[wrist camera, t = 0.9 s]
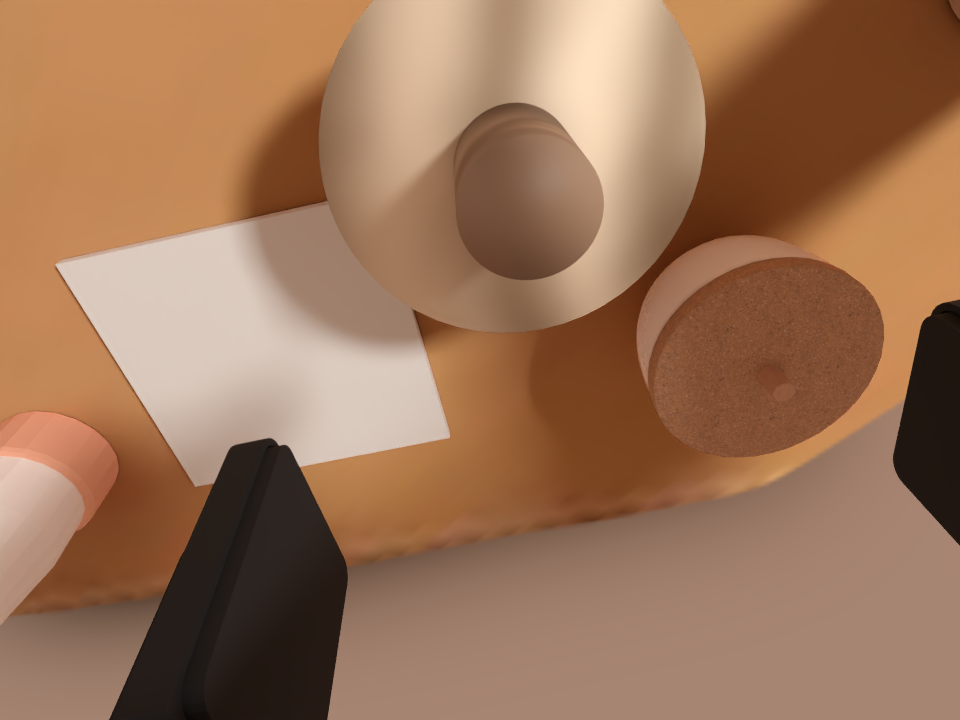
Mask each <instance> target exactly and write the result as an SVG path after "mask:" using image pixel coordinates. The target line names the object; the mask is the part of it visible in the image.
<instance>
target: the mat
mask: <svg viewBox="0 0 960 720" xmlns="http://www.w3.org/2000/svg"><path fill="white" fill-rule="evenodd" d="M55 265H56V267H57V268H58V270H59V272H60V273H61V275H62V276H63V278H64V279H65V281H66V283H67V284H68V286H69V287H70V289H71V291H72V292H73V294H74V295H75V297H76V299H77V300H78V302H79V303H80V305H81V306H82V308H83V310H84V311H85V313H86V314H87V316H88V318H89V319H90V321H91V322H92V324H93V325H94V327H95V329H96V330H97V332H98V333H99V335H100V337H101V338H102V340H103V341H104V343H105V345H106V346H107V348H108V349H109V351H110V352H111V354H112V356H113V357H114V359H115V360H116V362H117V364H118V365H119V367H120V368H121V370H122V371H123V373H124V375H125V376H126V378H127V379H128V381H129V383H130V384H131V386H132V387H133V389H134V391H135V392H136V394H137V395H138V397H139V398H140V400H141V402H142V403H143V405H144V406H145V408H146V410H147V411H148V413H149V414H150V416H151V417H152V419H153V421H154V422H155V424H156V425H157V427H158V429H159V430H160V432H161V433H162V435H163V437H164V438H165V440H166V441H167V443H168V444H169V446H170V448H171V449H172V451H173V452H174V454H175V456H176V457H177V459H178V460H179V462H180V464H181V465H182V467H183V468H184V470H185V471H186V473H187V475H188V476H189V478H190V479H191V481H192V483H193V484H194V486H195V487H197V486H202V485H208V484H213V483H214V482H215V480H216V478H217V476H218V473H219V471H220V469H221V466H222V464H223V462H224V460H225V457H226V455H227V453H228V451H229V449H230V448H231V447H232V446H234V445H236V444H241V443H246V442H251V441H256V440H261V439H266V438H272V439H274V440H275V441H276V442H277V444H278V445H279V446H280V445H287V446H288V447H289V448H290V449H291V451H292V453H293V455H294V457H295V459H296V461H297V463H298V465H299V467H301V466H306V465H311V464H317V463H322V462H327V461H332V460H337V459H343V458H348V457H353V456H358V455H363V454H369V453H374V452H379V451H384V450H389V449H395V448H400V447H405V446H410V445H415V444H421V443H426V442H431V441H436V440H441V439H446V438H450V431H449V427H448V424H447V421H446V417H445V414H444V411H443V407H442V404H441V401H440V397H439V394H438V390H437V387H436V384H435V380H434V377H433V374H432V370H431V367H430V364H429V360H428V357H427V354H426V350H425V347H424V344H423V340H422V337H421V334H420V330H419V327H418V324H417V320H416V317H415V314H414V310H413V309H412V308H411V307H409V306H408V305H406V304H404V303H403V302H401V301H400V300H398V299H397V298H395V297H394V296H393V295H392V294H391V293H389V292H388V291H387V290H386V289H384V288H383V287H382V286H381V285H380V284H379V283H378V282H377V281H376V280H375V279H374V278H373V277H372V276H371V275H370V274H369V273H368V272H367V271H366V270H365V269H364V268H363V266H362V265H361V264H360V262H359V261H358V260H357V258H356V257H355V256H354V254H353V253H352V252H351V250H350V249H349V247H348V245H347V243H346V242H345V240H344V238H343V236H342V235H341V233H340V231H339V229H338V227H337V225H336V222H335V220H334V217H333V215H332V213H331V210H330V208H329V204H328V201H325V202H321V203H316V204H312V205H307V206H303V207H298V208H294V209H289V210H285V211H280V212H276V213H271V214H267V215H262V216H258V217H253V218H249V219H244V220H240V221H235V222H231V223H226V224H222V225H217V226H213V227H208V228H204V229H199V230H194V231H190V232H185V233H181V234H176V235H172V236H167V237H163V238H158V239H154V240H149V241H145V242H140V243H136V244H131V245H127V246H122V247H118V248H113V249H109V250H104V251H100V252H95V253H91V254H86V255H82V256H77V257H73V258H68V259H64V260H61V261H59V262H58V263H57V264H55Z"/></svg>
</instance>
